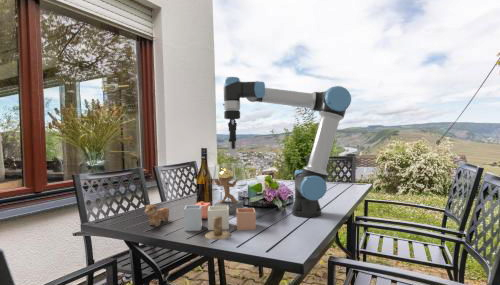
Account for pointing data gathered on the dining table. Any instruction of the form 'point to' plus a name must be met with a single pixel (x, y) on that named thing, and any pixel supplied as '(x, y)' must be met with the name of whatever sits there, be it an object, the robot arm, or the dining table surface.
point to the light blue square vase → (192, 217)
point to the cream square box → (218, 211)
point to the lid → (217, 230)
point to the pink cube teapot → (204, 209)
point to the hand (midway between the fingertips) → (232, 155)
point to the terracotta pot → (246, 218)
